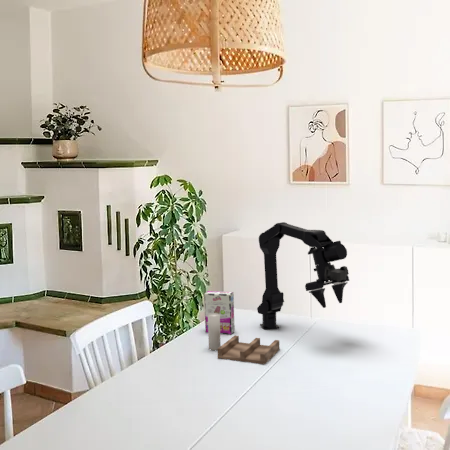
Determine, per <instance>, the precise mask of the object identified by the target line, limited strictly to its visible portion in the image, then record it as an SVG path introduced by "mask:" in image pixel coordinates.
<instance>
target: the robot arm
mask: <svg viewBox="0 0 450 450" xmlns="http://www.w3.org/2000/svg"><path fill="white" fill-rule="evenodd" d="M285 236H288V237H291V238H293V239H297V240H300V241H302V242H303V244H305V245H307V246H308V247H310V249H309V250H308V252H307V255H312V259H313V261H314V265H315V268H313V271H314V272H316V273H317V275H316V276H317V278H316V280H315V281H310V282H306V283H305V285H304V289H305V291H306V292H308V293H309V294H311V295H312V296H313V297H314V298H315V299H316V301H317V302H318V303H319V304H320V306H321V307H322V308H323V309H324V308H326V307H327V306H326V305H327V304H326V298H325V290H326V288H325V286H328V285H331V284H333V285H331V288H332V291H333V293H334V295H335V297H336V300H337V301H338V304H342V303H343V295H344V290H345V289H344V288H345V287H346V285H347V284H348V282H350V277H349V275H350V274H349V273H350V272H349V269H348V266H345V265H342V266H339V267H340V268H336V266H335V265H334V264H331V262H336V261H340V260H345V259H346V258H347V255H348V251H347V250H348V249H347V248H346V247H345V245H344V244H343V243H342V241H341V240H336V241H334V240H332V239H331V238H330V237H329V236H328V235H327V233H326V231H325V230H323V229H306V228H302V227H301V226H297V225H294V224H289V223H287V222H285V221H284V222H277V223H274V225H273V226H271V227H270V228H269V229H267V230H265V231H264V232H261V233H260V234H259V235H258V243H259V248H260V250H261V251H262V254H263V260H264V261H263V262H264V279H265V280H264V281H265V290H264V291H263V294H262V298H261V299H262V300H261V303H260V304H259V305H258V307H257V308H256V310H257V313H258V314H260V315H261V317H262V323H260V325H259V326H260V327H261V328H262V329H263V330H273V329H275V330H276V329H279V328H280V326H279V325H278V324H277V313H278V312H281V310H282V307H283V306H284V303H285V300H284V296H285V295H284V292H283V291H280V289H279V284H278V281H279V280H278V265H277V264H278V263H277V261H278V259H277V252H278V250H279V248H280V246H281V245H280V243H281V242H280V241H281V240H282V239H283V238H284V237H285Z"/></svg>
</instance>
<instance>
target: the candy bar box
mask: <svg viewBox="0 0 450 450" xmlns="http://www.w3.org/2000/svg"><path fill="white" fill-rule="evenodd" d="M203 295H204V298H203V299H204V319H205V321H204V324H205V326H204V327H205V333H206V332H208V314H210V313H218V314H220V333H225V334H224V335H232V334H233V333H234V332H235V331H236V329H235V301H234V300H235V299H234V291H218V290H217V291H215V290H211V291H209V290H207V291H206V292H205V293H204V294H203Z"/></svg>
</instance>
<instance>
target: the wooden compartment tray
mask: <svg viewBox="0 0 450 450" xmlns="http://www.w3.org/2000/svg"><path fill="white" fill-rule="evenodd" d="M239 339H240V337H239V335H233V336H231V338H230V339H228V340H227V341H226V342H225V343H223V344H221V346H220V347H219V348H218V350H217V359H220V358H222V359H221V360H227V359H230V360H229V361H235V360H236V361H237V362H245V363H252V364H259V365H260V364H261V365H266V364H267V363H268V362H269V361H270V360H271V359H272V358H273V357H274V356H275V355H276V354H277V353H278V352H279V351H280V350H281V349H280V347H281V346H280V340H279V339H275V340H273V341H272V342H271V343H270V344H269V345H266V344H265V345H264V344H261V337H255V338H254V339H253V340H251V342H250V343H249V342H241V341H240V340H239Z"/></svg>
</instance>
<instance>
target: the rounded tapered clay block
mask: <svg viewBox="0 0 450 450" xmlns="http://www.w3.org/2000/svg"><path fill="white" fill-rule="evenodd" d="M207 334H208V350H209V349H211V350H210V351H212V350H216V351H218V348H219V347H220V346H222V343H221V334H220V314H218V313H210V314H208V333H207Z"/></svg>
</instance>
